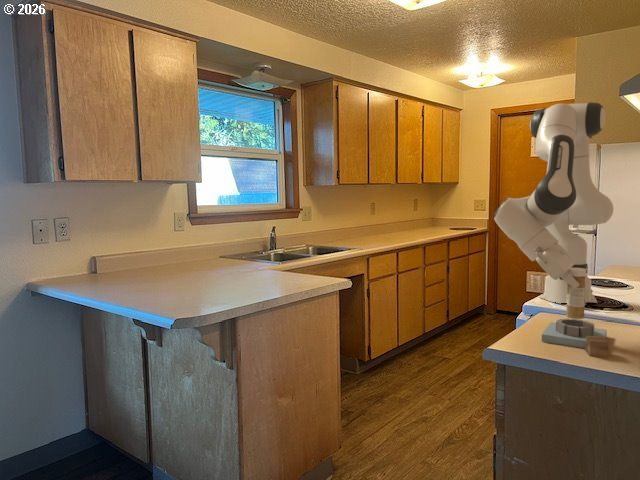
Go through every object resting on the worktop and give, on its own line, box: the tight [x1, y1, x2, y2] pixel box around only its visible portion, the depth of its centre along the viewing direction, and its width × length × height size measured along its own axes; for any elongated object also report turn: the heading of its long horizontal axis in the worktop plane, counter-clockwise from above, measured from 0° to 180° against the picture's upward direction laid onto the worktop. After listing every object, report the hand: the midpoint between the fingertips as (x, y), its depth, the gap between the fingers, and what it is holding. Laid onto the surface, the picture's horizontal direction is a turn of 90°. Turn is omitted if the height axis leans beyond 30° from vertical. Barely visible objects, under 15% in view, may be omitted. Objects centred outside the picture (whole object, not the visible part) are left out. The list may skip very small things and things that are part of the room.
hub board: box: [541, 318, 608, 349], centre depth 127 cm, size 14×14×4 cm
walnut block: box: [584, 336, 610, 358], centre depth 116 cm, size 4×4×4 cm
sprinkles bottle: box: [565, 268, 586, 320], centre depth 126 cm, size 5×5×13 cm
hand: (579, 284), depth 125 cm, fingers closed on sprinkles bottle, 4 cm apart
